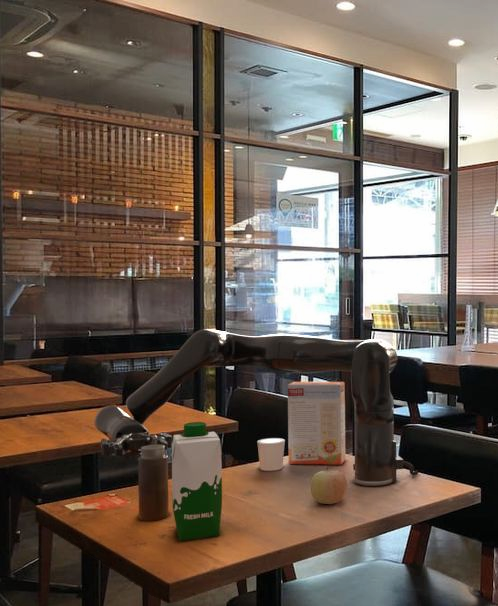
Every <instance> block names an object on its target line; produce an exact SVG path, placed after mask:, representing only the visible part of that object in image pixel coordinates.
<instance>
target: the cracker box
mask: <svg viewBox="0 0 498 606" xmlns="http://www.w3.org/2000/svg"><path fill="white" fill-rule="evenodd" d="M345 390H346V389H345V382H344V381H293V382H290V383H288V384H287V433H288V434H287V437H288V438H287V440H288V441H287V443H288V445H287V446H288V464H289V465H331V466H333V465H336V466H337V465H338V466H340V465H342V464H343V463H344V462H345V461H346V398H345V397H346V395H345Z"/></svg>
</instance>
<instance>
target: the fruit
mask: <svg viewBox="0 0 498 606" xmlns="http://www.w3.org/2000/svg"><path fill="white" fill-rule="evenodd" d="M324 467H325V469H326V470H321V471H317V472H316V473H315V474H314V475H313V477H312V478H311V481H310V492H311V496H312V497H313V499H314V501H316V502H317V503H320V504H323V505H333V504H338V503H339V502H341V500H342V499H343V497H344V496H345V495H346V492H347V489H348V488H347V487H348V481H347V477H346V475H345V474H344V473H343V472H341V471H340V470H329V469H328V466H327V465H325V466H324Z"/></svg>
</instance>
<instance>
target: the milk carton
mask: <svg viewBox="0 0 498 606" xmlns="http://www.w3.org/2000/svg"><path fill="white" fill-rule="evenodd" d="M222 455H223V453H222V445H221V439H220V437H219V435H218V434H217V433H216V432H215V431H207V423H206V422H203V421H193V422H187V423H184V424H183V433H180V434H173V436H172V447H171V460H172V461H171V497H172V498H171V499H172V500H171V501H172V512H173V517H174V518H173V519H174V522H175V527H176V528H175V529H176V532H177V536H178V539H179V542H182V541H190V540H191V541H192V540H197V539H204V538H211V537H218V536H220V531H221V520H222V508H223V472H222V471H223V470H222V468H223V465H222V464H223V463H222Z"/></svg>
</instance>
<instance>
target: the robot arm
mask: <svg viewBox="0 0 498 606" xmlns="http://www.w3.org/2000/svg"><path fill="white" fill-rule="evenodd" d="M397 363H398V354H397V351H396V349H395V348H394V346H392V344H391V343H389V342H388V341H386V340H383V339H380V338H379V339H378V338H375V339H365V340H364V339H363V340H340V339H339V340H338V339H333V338H332V339H331V338H326V337H318V336H312V335H302V334H288V333H279V334H278V333H277V334H266V335H259V336H258V335H257V336H251V335H250V336H249V335H241V334H236V333H231V332H226V331H223V330H217V329H212V328H202V329H199V330H197V331H195V332H193V334H192V335H191V336H190V337H189V338H188V339H187V340H186V341H185V342H184V344H183V345H182V346H181V347H180V348H179V350H178V351H177V352H176V353H175V354H174V355H173V356H172V357H171V358H170V359H169V360H168V362H166V363H165V365H164V366H163V367H161V369H160V370H159V371H157V372H156V373H155V374H154V375H153V376H152V377H151V378H149V380H147V381H146V382H145V383H143V384H142V385H141V386H140V387H139V388H138V389H136V390H135V391H134V392H133V393H131V394H130V395H129V396H128V397H127V399H126V401H125V406H126V408H127V410H128V412H129V413H130V414H131V416H132V417H131V416H130V415H129V414H128V413H127V412H125V411H124V410H123V409H122V408H121V407H119V406H117V405H115V404H109V405H106V406H104V407H102V408H101V409H100V410H99V411H98V412H97V413H96V416H95V418H94V426H95V428H96V429H97V430H98V431H99V432H101V433H102V434H103V435H104V436H106V438H102V439H100V452H101V454H102V456H104V457H108V456H109V455H110V454H111V455H112V456H115V457H118V458H119V459H120V458H123V457H124V456H126V457H135V456H139V455H141V447H143V446H147V445H164V446H165V451H168V449H172V444H173V436H172V435H170V434H169V433H166V432H164V431H162V432H160V433H159V435H158V436H157V434H152V433H149V431H148V429H147V428H146V427H145V426H144V423H145V422H146V421H147V420H148V419H149V417H151V416H152V415H153V414H154V413H155V412H156V411H158V410H159V409H160V408H161V407H163V406H164V405H165V404H166V403H167V402H168V401H170V399H171V398H172V397H173V396H174V394H175V393H176V391H177V390H178V389H179V387H180V385H182V383H183V382H184V381H185V380H186V379H187V378H188V377H190V376H191V375H192V374H194V373H196V372H197V371H199V370H200V369H202V368H204V367H207V368H220V367H234V366H235V367H236V366H240V367H241V366H246V367H247V366H249V367H255V368H258V369H259V368H260V369H263V370H266V371H267V370H268V371H272V372H277V373H290V374H315V373H316V374H317V373H326V372H327V373H328V372H336V371H337V372H338V371H340V372H350V385H351V388H350V389H351V397H352V400H353V405H354V406H353V407H354V408H353V409H354V411H353V412H354V413H353V414H354V463H353V466H352V467H353V468H352V471H354V478H353V481H354V483H355V484H357V485H361V486H365V487H379V486H386V485H390V484H392V483H393V484H394V483H397V470H404V466H405V467H407V468H409V474H410V475H411V476H413V477H414V476H418V475H419V470H415V469H414V465H413V464H411V463H410V462H408V461H404V459H403V458H402V457H401V456H400V455H397V442H396V440H395V432H394V431H395V420H394V419H395V417H394V415H395V414H394V413H395V412H394V411H395V410H394V409H395V408H394V407H395V406H394V404H395V403H394V402H395V401H394V396H393V395H392V392H391V381H390V376H391V375H390V373H392V371H393V370H394V369H395V367H396V365H397ZM107 438H108V439H107Z"/></svg>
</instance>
